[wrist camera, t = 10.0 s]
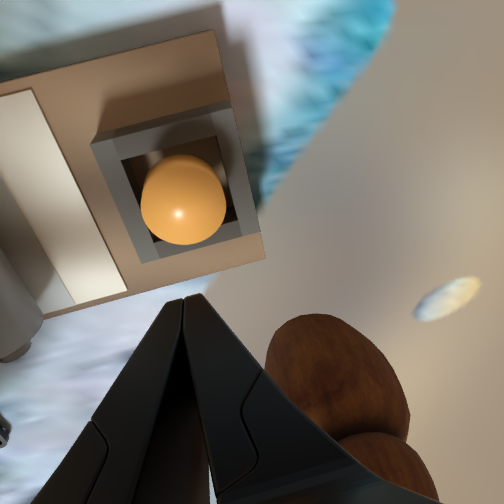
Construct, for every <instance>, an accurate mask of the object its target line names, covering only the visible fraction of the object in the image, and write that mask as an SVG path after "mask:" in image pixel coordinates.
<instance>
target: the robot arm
mask: <svg viewBox="0 0 504 504" xmlns="http://www.w3.org/2000/svg"><path fill="white" fill-rule="evenodd" d="M8 440H9V435H8V434H7V433H6V432H5V431H4V429H3V428H2V427H1V426H0V448H3V447H5V446H6V445H7V442H8ZM209 467H210V472H211V477H212V482H213V487H214V492H215V496H216V499H217V504H443V503H440V502H438V501H435V500H433V499H430V498H428V497H426V496H423V495H421V494H418V493H416V492H413V491H411V490H408V489H406V488H403V487H401V486H398V485H396V484H393V483H391V482H389V481H387V480H385V479H383V478H381V477H379V476H378V475H376V474H375V473H373V472H372V471H370V470H369V469H368V468H366V467H365V466H364V465H362V464H361V463H360V462H359V461H358V460H356V459H355V458H354V457H353V456H352V455H350V454H349V453H348V452H347V451H346V450H345V449H344V448H343V447H341V446H340V445H339V444H338V443H337V442H336V441H335V440H334V439H332V438H331V437H330V436H329V435H328V434H327V433H326V432H325V431H324V430H322V429H321V428H320V427H319V426H318V425H317V424H316V423H315V422H313V421H312V420H311V419H310V418H309V417H308V416H307V415H306V414H305V413H303V412H302V411H301V410H300V409H299V408H298V407H297V406H296V405H295V404H294V403H293V402H292V401H291V400H290V399H289V398H288V397H287V396H286V395H285V394H284V393H283V391H282V390H281V389H280V388H279V387H278V386H277V385H276V384H275V382H274V381H273V380H272V379H271V378H270V376H269V375H268V374H267V373H266V372H265V371H264V369H263V368H262V367H261V366H260V364H259V363H258V362H257V361H256V359H255V358H254V357H253V356H252V355H251V353H250V352H249V351H248V350H247V348H246V347H245V346H244V345H243V344H242V342H241V341H240V340H239V339H238V338H237V336H236V335H235V334H234V332H232V330H231V329H230V328H229V326H228V325H227V324H226V323H225V322H224V320H223V319H222V318H221V317H220V315H219V314H218V313H217V312H216V310H215V309H214V308H213V307H212V306H211V304H210V303H209V302H208V301H207V299H206V298H205V297H204V296H203V295H202V294H201V293H198V294H194V295H191V296H187V297H185V298H184V299H182V298H180V299H176V300H173V301H169V302H167V303H165V305H164V306H163V308H162V309H161V311H160V312H159V314H158V315H157V317H156V318H155V320H154V321H153V323H152V325H151V326H150V328H149V329H148V331H147V332H146V334H145V335H144V337H143V338H142V340H141V342H140V343H139V345H138V346H137V348H136V349H135V351H134V352H133V354H132V355H131V357H130V358H129V360H128V362H127V363H126V365H125V366H124V368H123V369H122V371H121V372H120V374H119V375H118V377H117V379H116V380H115V382H114V383H113V385H112V386H111V388H110V389H109V391H108V392H107V394H106V396H105V397H104V399H103V400H102V402H101V403H100V405H99V406H98V408H97V409H96V411H95V412H94V414H93V416H92V417H91V421H89V422H88V423H87V425H86V426H85V428H84V429H83V431H82V432H81V434H80V435H79V437H78V438H77V440H76V441H75V443H74V444H73V446H72V447H71V449H70V450H69V452H68V453H67V455H66V456H65V457H64V459H63V460H62V462H61V463H60V465H59V466H58V467H57V469H56V470H55V471H54V473H53V474H52V475H51V477H50V478H49V480H48V481H47V482H46V484H45V485H44V486H43V488H42V489H41V490H40V492H39V493H38V494H37V496H36V497H35V498H34V499H33V501H32V502H31V503H30V504H210V490H209Z"/></svg>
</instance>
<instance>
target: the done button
mask: <svg viewBox="0 0 504 504" xmlns="http://www.w3.org/2000/svg"><path fill="white" fill-rule="evenodd" d="M141 213H142V217H143V220H144V222H145V224H146V225H147V227H148V228H149V229H150V230H151V232H152V233H154V234H155V235H156V236H157V237H159V238H160V239H162V240H164V241H167V242H169V243H173V244H179V245H189V244H195V243H198V242H201V241H203V240H205V239H207V238H209V237H210V236H211V235H213V234H214V233H215V232H216V231H217V230H218V228H219V227H220V226H221V224H222V222H223V220H224V217H225V213H226V200H225V196H224V192H223V189H222V186H221V182H220V179H219V177H218V175H217V173H216V172H215V170H214V169H213V168H212V167H211V166H210V165H209V164H208V163H207V162H205V161H204V160H202V159H200V158H198V157H195V156H192V155H187V154H176V155H171V156H168V157H165V158H163V159H161V160H160V161H158V162H157V163H156V164H155V165H154V166H153V167H152V168H151V169H150V170H149V172H148V173H147V176H146V178H145V181H144V186H143V192H142V198H141Z"/></svg>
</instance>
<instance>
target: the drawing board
mask: <svg viewBox="0 0 504 504" xmlns="http://www.w3.org/2000/svg"><path fill="white" fill-rule="evenodd" d="M176 154H187V155H192V156H195V157H198V158H200V159H202V160H204V161H205V162H207V163H208V164H209V165H210V166H211V167H212V168H213V169H214V170H215V172H216V173H217V175H218V177H219V179H220V182H221V186H222V189H223V192H224V196H225V200H226V213H225V217H224V220H223V222H222V224H221V226H220V227H219V228H218V230H217V231H216V232H215V233H214V234H213V235H211V236H210V237H209V238H207V239H205V240H203V241H201V242H198V243H195V244H189V245H179V244H173V243H169V242H167V241H164V240H162V239H160V238H159V237H157V236H156V235H155V234H154V233H152V232H151V230H150V229H149V228H148V227H147V225H146V224H145V222H144V220H143V217H142V213H141V198H142V192H143V186H144V181H145V178H146V176H147V173H148V172H149V170H150V169H151V168H152V167H153V166H154V165H155V164H156V163H157V162H158V161H160V160H161V159H163V158H165V157H168V156H171V155H176ZM0 248H1V249H2V251H3V252H4V254H5V256H6V257H7V259H8V260H9V262H10V263H11V265H12V266H13V268H14V269H15V271H16V272H17V274H18V275H19V277H20V279H21V280H22V282H23V283H24V285H25V286H26V288H27V289H28V291H29V292H30V294H31V295H32V297H33V298H34V300H35V302H36V303H37V305H38V306H39V308H40V309H41V311H42V312H43V315H44V319H43V320H45V319H48V318H52V317H56V316H59V315H63V314H66V313H70V312H74V311H77V310H81V309H85V308H88V307H92V306H95V305H99V304H103V303H106V302H110V301H114V300H117V299H121V298H124V297H128V296H132V295H135V294H139V293H143V292H146V291H150V290H154V289H157V288H161V287H164V286H168V285H172V284H175V283H179V282H183V281H186V280H190V279H193V278H197V277H201V276H204V275H208V274H212V273H215V272H219V271H222V270H225V269H230V268H233V267H237V266H241V265H244V264H248V263H252V262H255V261H259V260H262V259H266V256H265V251H264V247H263V243H262V238H261V234H260V227H259V223H258V218H257V214H256V209H255V205H254V201H253V196H252V192H251V187H250V183H249V179H248V174H247V170H246V165H245V161H244V156H243V152H242V148H241V143H240V139H239V134H238V130H237V126H236V121H235V117H234V112H233V108H232V106H231V102H230V98H229V93H228V89H227V85H226V80H225V76H224V72H223V67H222V63H221V58H220V54H219V50H218V45H217V41H216V36H215V32H214V30H212V29H211V30H207V31H203V32H199V33H195V34H191V35H187V36H183V37H179V38H175V39H171V40H167V41H163V42H159V43H155V44H151V45H147V46H143V47H139V48H135V49H131V50H127V51H123V52H119V53H115V54H111V55H107V56H103V57H99V58H95V59H91V60H87V61H83V62H79V63H75V64H71V65H67V66H63V67H59V68H55V69H51V70H47V71H43V72H39V73H35V74H31V75H27V76H23V77H19V78H15V79H12V80H8V81H4V82H0Z"/></svg>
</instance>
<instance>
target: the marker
mask: <svg viewBox="0 0 504 504" xmlns="http://www.w3.org/2000/svg"><path fill="white" fill-rule="evenodd" d="M43 319H44V315H43V312H42V311H41V309H40V308H39V306H38V305H37V303H36V302H35V300H34V298H33V297H32V295H31V294H30V292H29V291H28V289H27V288H26V286H25V285H24V283H23V282H22V280H21V279H20V277H19V275H18V274H17V272H16V271H15V269H14V268H13V266H12V265H11V263H10V262H9V260H8V259H7V257H6V256H5V254H4V252H3V251H2V249H1V248H0V362H1V363H8V362H11V361H14V360H16V359H18V358H20V357H21V356H23V355H24V354H25V353H26V352H27V351H28V350H29V348H30V347H31V344H32V342H31V340H30V339H31V338H32V337H33V336H34V335H35V334H36V332H37V331H38V330H39V328H40V327H41V325H42V322H43Z"/></svg>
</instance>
